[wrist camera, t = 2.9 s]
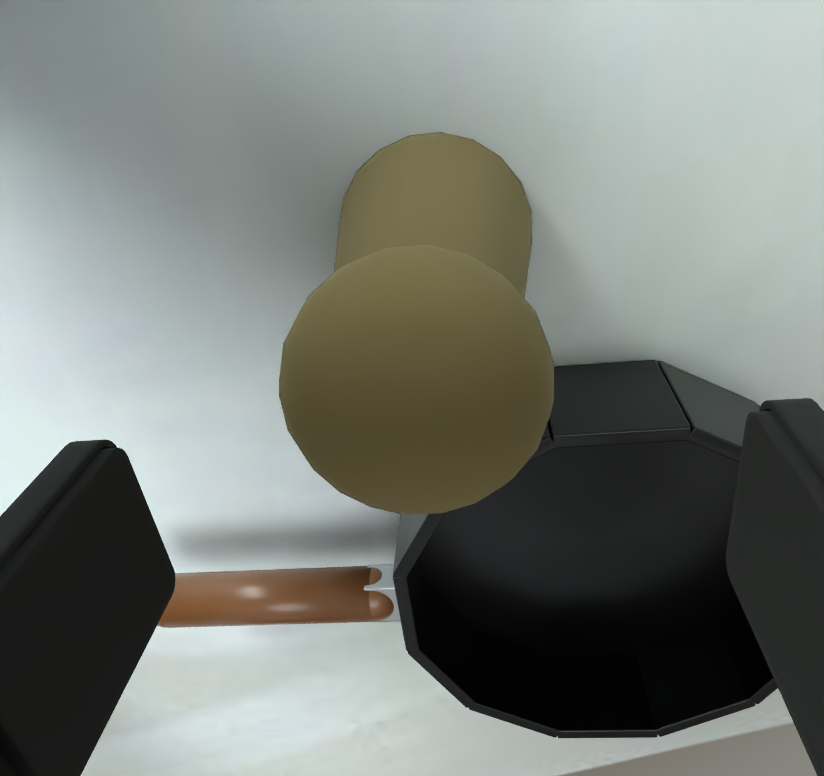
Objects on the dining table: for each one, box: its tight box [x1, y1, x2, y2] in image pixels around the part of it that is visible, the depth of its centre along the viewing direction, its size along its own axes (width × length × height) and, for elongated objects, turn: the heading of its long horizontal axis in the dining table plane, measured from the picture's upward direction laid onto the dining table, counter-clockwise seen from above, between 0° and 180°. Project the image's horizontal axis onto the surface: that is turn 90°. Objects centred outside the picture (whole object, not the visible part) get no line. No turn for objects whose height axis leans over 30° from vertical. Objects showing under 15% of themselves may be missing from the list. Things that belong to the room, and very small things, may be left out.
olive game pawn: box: [279, 132, 554, 515], centre depth 16 cm, size 6×6×11 cm
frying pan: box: [157, 360, 778, 738], centre depth 25 cm, size 25×15×4 cm, turn 97°
